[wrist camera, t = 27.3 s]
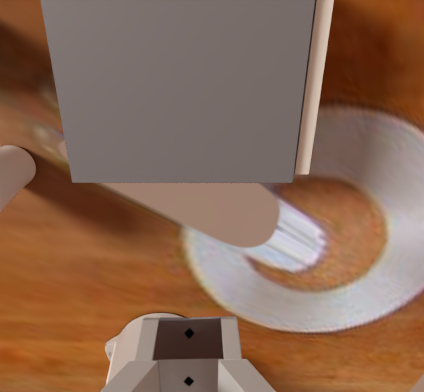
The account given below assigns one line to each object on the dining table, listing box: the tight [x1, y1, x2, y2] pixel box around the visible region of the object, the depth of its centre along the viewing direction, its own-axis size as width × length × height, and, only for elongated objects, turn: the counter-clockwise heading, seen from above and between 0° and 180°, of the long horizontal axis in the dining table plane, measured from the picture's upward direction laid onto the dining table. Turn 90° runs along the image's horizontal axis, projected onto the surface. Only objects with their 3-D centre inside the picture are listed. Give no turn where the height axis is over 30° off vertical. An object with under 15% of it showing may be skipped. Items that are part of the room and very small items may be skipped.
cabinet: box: [41, 0, 315, 183], centre depth 31 cm, size 18×18×16 cm
